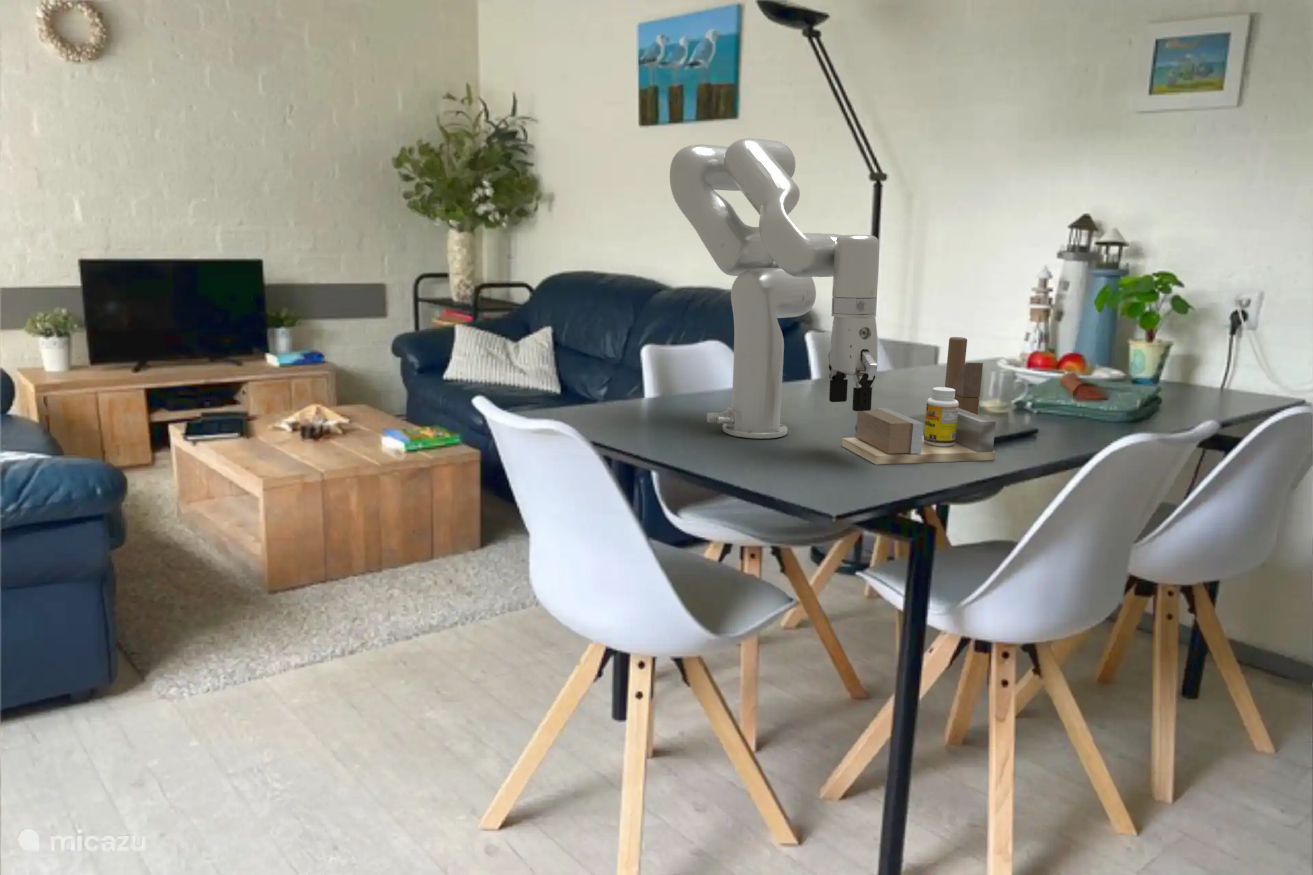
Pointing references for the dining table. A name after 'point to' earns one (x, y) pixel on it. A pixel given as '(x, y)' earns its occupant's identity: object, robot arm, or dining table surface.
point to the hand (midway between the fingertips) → (849, 406)
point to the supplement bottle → (941, 417)
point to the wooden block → (963, 376)
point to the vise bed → (969, 446)
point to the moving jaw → (890, 431)
